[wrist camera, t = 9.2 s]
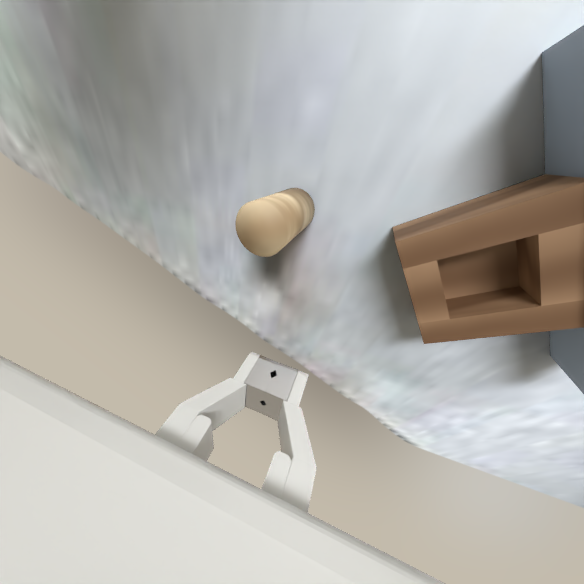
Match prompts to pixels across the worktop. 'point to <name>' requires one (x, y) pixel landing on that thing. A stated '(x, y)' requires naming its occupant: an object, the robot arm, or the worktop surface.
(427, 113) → the worktop surface
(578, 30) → the wall
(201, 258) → the worktop surface
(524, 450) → the worktop surface
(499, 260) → the block
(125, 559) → the robot arm
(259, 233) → the dowel
